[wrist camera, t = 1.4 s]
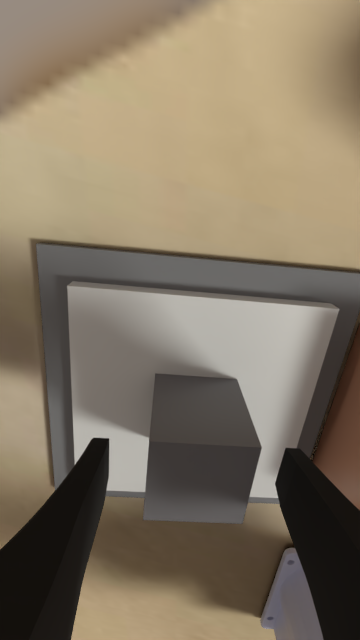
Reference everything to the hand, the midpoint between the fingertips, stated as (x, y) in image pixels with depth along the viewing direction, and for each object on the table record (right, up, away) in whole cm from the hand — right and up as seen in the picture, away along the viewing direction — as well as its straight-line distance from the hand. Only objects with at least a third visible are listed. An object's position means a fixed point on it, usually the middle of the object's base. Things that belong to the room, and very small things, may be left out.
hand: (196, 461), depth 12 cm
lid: (0, +1, +4) cm, 4 cm away
